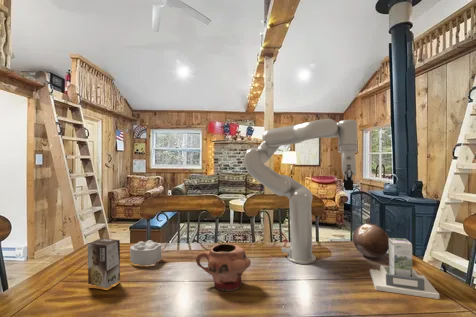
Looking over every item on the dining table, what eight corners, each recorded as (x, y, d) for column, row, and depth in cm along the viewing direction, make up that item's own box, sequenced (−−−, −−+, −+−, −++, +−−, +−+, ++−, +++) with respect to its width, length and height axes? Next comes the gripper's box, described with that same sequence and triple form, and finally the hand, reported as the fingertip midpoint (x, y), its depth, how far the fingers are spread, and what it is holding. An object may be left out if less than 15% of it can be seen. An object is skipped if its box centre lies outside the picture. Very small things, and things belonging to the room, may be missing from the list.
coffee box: (121, 283, 94) (120, 239, 94) (106, 292, 88) (106, 245, 88) (102, 279, 97) (101, 237, 97) (87, 287, 91) (86, 242, 91)
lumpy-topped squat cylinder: (152, 267, 107) (152, 247, 107) (124, 266, 109) (124, 246, 109) (163, 258, 117) (163, 239, 118) (138, 257, 120) (137, 238, 120)
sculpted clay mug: (191, 294, 86) (191, 252, 86) (198, 277, 98) (198, 241, 98) (251, 294, 85) (250, 253, 85) (250, 277, 97) (250, 241, 97)
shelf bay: (375, 289, 87) (375, 275, 87) (369, 272, 100) (369, 260, 100) (439, 299, 81) (439, 283, 81) (424, 279, 94) (423, 266, 94)
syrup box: (406, 277, 92) (405, 237, 92) (413, 285, 86) (412, 243, 87) (388, 276, 94) (388, 236, 94) (394, 283, 88) (393, 241, 88)
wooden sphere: (347, 256, 117) (347, 223, 117) (361, 248, 127) (360, 218, 128) (383, 266, 106) (382, 230, 106) (394, 256, 116) (394, 223, 116)
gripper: (359, 147, 99) (360, 191, 99) (355, 149, 115) (356, 187, 115) (338, 148, 102) (339, 191, 101) (337, 149, 118) (338, 186, 118)
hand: (348, 188), depth 108 cm, fingers open, 9 cm apart
